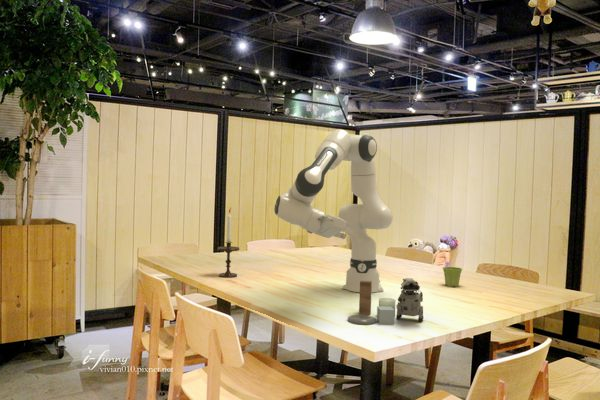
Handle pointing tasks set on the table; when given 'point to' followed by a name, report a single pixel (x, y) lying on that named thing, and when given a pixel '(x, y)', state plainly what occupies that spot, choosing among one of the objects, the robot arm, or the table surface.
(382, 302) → the pale green cylinder
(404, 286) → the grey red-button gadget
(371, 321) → the slate coaster
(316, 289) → the table surface
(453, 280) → the plant pot
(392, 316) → the bluegrey cube
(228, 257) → the candlestick
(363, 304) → the walnut block
